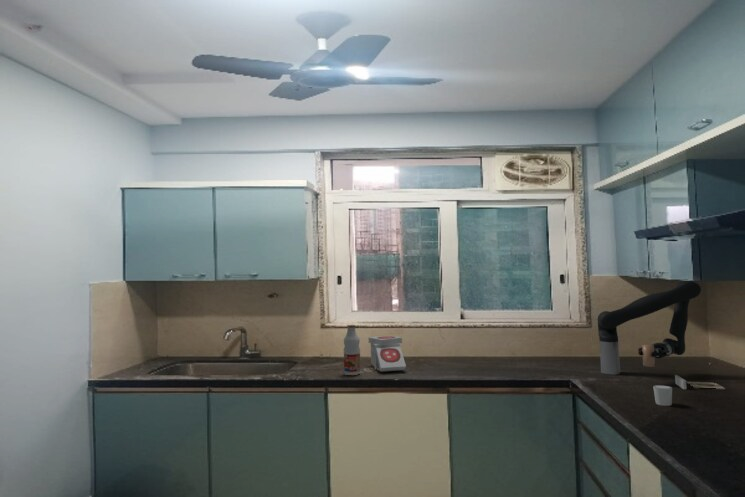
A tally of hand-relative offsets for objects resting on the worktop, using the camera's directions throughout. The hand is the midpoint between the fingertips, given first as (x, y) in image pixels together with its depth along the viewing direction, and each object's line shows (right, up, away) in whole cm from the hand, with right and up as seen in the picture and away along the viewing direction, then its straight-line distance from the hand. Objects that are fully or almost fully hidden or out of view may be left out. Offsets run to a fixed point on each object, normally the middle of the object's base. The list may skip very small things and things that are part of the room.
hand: (646, 353), depth 232 cm
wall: (+13, -14, -6) cm, 20 cm away
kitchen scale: (-124, -21, +55) cm, 137 cm away
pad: (+25, -14, -6) cm, 29 cm away
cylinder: (+2, -6, +1) cm, 7 cm away
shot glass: (-12, -14, -33) cm, 38 cm away
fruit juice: (-145, -21, +41) cm, 152 cm away
